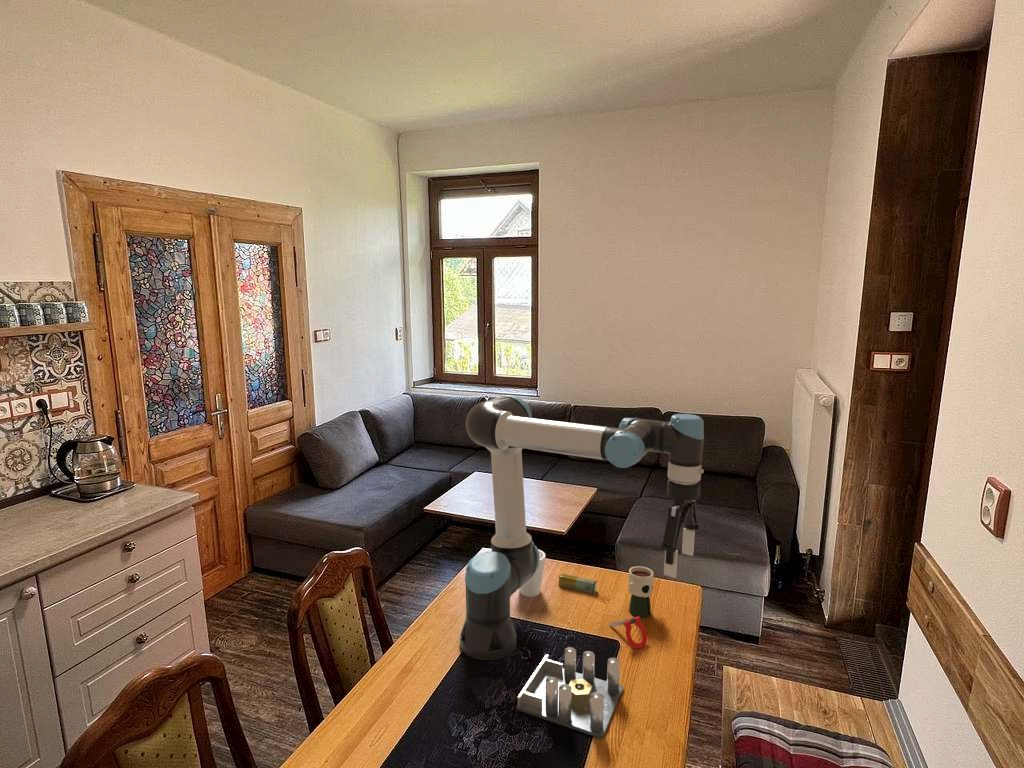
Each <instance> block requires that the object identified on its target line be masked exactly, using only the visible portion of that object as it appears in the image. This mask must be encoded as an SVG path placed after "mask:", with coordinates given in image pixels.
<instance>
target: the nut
mask: <svg viewBox="0 0 1024 768" xmlns="http://www.w3.org/2000/svg"><path fill="white" fill-rule="evenodd" d="M569 685H570V686H571V688H572V700H571V703H572V704H573V705H574V706H575V707H581V706H588V705H589V703H590V695H591V694H592V686H591V685H590V684H589V683H588V682H587V681H585V680H584V679H577V680H571V682H570V683H569Z"/></svg>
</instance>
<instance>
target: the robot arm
mask: <svg viewBox="0 0 1024 768" xmlns="http://www.w3.org/2000/svg"><path fill="white" fill-rule="evenodd" d="M467 413H468V414H466V419H465V430H466V433H467V435H468V437H469V438H470V439H471V441H473V443H475V444H477V445H479V446H482V447H484V448H486V449H487V450H488V451H489V452H490V457H491V458H490V459H491V460H490V461H491V474H492V475H491V476H492V477H491V479H492V490H493V491H492V492H493V506H494V509H493V510H494V522H495V526H494V527H495V534H494V535H493V536H492V538H491V539H490V543H491V551H485V552H483V553H482V552H481V553H478V554H476V555H474V556H473V557H471V558H470V560H469V561H468V562H467V565H466V568H465V575H464V582H465V613H466V614H465V619H464V622H463V626H462V629H461V631H460V635H459V647H460V650H461V649H462V650H461V651H462V653H463V652H464V653H465V654H464V653H463V654H464V655H466V656H467V655H468V656H467V657H469V656H470V657H469V658H471V657H472V658H471V659H473V658H475V659H474V660H476V659H479V660H478V661H482V660H485V662H487V661H486V660H490V661H491V660H492V661H497V660H501V659H504V658H506V657H508V656H509V655H511V654H512V653H513V652H514V651H515V649H516V648H517V643H518V642H517V632H516V629H515V626H514V623H513V620H512V617H511V596H512V595H513V594H515V592H517V591H518V590H519V588H520V587H521V586H522V585H523V584H524V583H525V582H526V581H528V580H529V579H530V578H531V577H532V576H533V575H534V573H535V572H536V570H537V568H538V566H539V561H540V556H539V551H538V547H537V545H535V543H534V541H533V539H532V538H533V537H532V535H531V534H530V533H528V532H527V524H526V523H527V521H526V507H525V491H524V490H525V489H524V487H525V486H524V473H523V471H524V470H523V455H522V453H523V452H522V450H523V449H526V450H533V451H539V452H540V451H541V452H547V453H553V454H554V453H555V454H561V455H569V456H575V457H582V458H589V459H595V460H601V461H608V462H610V464H612V466H615V467H616V468H621V469H624V468H625V469H627V468H629V467H631V466H634V465H636V464H637V463H639V462H640V461H641V460H642V458H643V457H645V456H646V455H647V454H648V453H650V452H651V453H660V454H668V463H667V478H668V479H667V485H666V494H667V496H669V497H670V498H672V499H673V503H672V504H671V505H669V506H668V509H667V519H666V524H665V529H664V534H663V535H664V536H663V540H662V544H661V546H660V548H661V550H663V551H664V563H663V575H664V576H667V577H670V578H674V579H676V578H677V571H678V570H677V568H678V552H679V551H678V549H677V547H678V544H679V540H680V537H681V532H682V540H681V541H682V542H681V543H682V547H681V554H684V555H687V556H691V557H694V550H695V537H696V536H695V535H696V534H695V533H696V531H698V530H699V529H700V528H699V527H700V525H698V524H699V519H698V518H699V516H698V507H697V500H698V499H699V498H700V496H701V482H700V481H701V480H702V479H701V478H702V474H704V472H705V471H704V469H703V468H702V463H703V454H704V452H703V451H704V439H705V435H704V434H705V433H704V432H705V431H704V428H705V427H704V425H705V424H704V423H705V421H704V419H703V418H702V417H701V416H699V415H696V414H688V413H677V414H676V413H675V414H673V415H671V417H670V421H662V420H653V419H646V418H645V419H644V418H639V417H624V418H623V419H621V421H620V423H619V425H618V427H610V426H609V427H608V426H604V425H603V426H602V425H594V424H585V423H578V422H577V423H576V422H569V421H568V422H567V421H559V420H552V419H543V418H535V417H533V413H532V411H531V407H530V406H529V405H528V403H527V402H525V400H524V399H523V398H521V397H520V396H519V397H518V396H517V395H512V394H511V395H510V394H509V395H501V396H497V397H494V398H492V399H489V400H488V399H487V400H486V401H482V402H479V403H477V404H476V405H474V406H473V407H472V408H471V409H470V410H469V411H468V412H467ZM683 526H684V528H683Z"/></svg>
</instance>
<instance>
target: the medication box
mask: <svg viewBox="0 0 1024 768" xmlns="http://www.w3.org/2000/svg"><path fill="white" fill-rule="evenodd" d="M597 583H598V582H597V580H593V579H588V578H583V577H579V576H576V575H575V576H574V575H570V574H566V573H561V574H560V575H559V576H558V587H562V588H566V589H570V590H575V591H578V592H583V593H587V594H590V595H591V594H592V595H594V594H596V592H597Z"/></svg>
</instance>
